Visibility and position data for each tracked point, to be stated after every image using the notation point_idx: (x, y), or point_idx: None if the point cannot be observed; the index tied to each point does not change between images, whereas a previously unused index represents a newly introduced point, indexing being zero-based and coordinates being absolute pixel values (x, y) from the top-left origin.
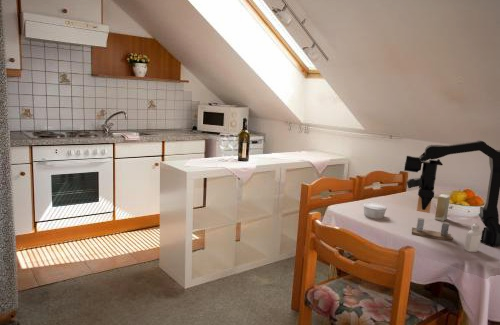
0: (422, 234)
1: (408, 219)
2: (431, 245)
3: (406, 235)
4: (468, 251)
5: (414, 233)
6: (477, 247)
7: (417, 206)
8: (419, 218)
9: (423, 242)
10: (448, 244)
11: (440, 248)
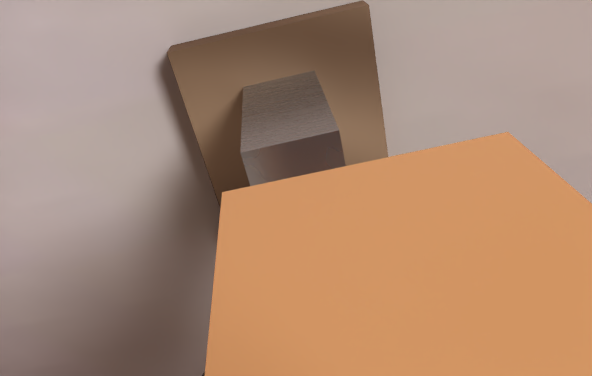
0: (204, 160)
1: None
2: (4, 273)
3: (61, 8)
4: None
5: (180, 79)
6: None
7: (216, 266)
8: (313, 158)
9: (12, 208)
10: (170, 349)
11: (6, 333)
